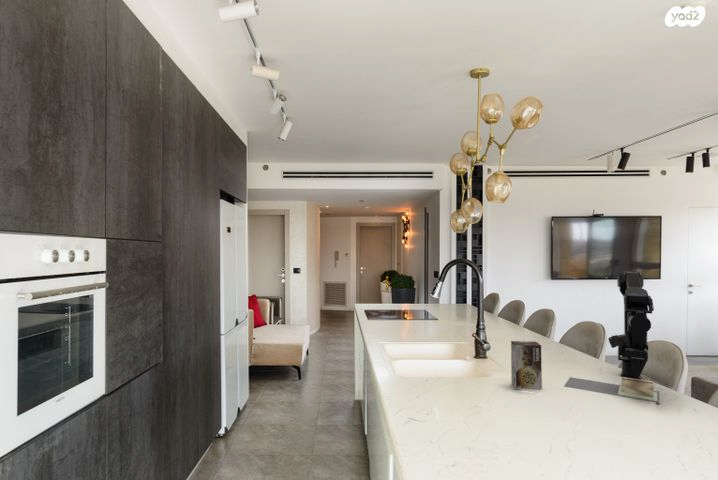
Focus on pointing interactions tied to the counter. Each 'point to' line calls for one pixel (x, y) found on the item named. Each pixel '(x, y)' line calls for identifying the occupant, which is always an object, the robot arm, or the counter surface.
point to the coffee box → (526, 365)
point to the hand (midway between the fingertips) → (637, 374)
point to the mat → (607, 389)
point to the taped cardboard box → (637, 387)
